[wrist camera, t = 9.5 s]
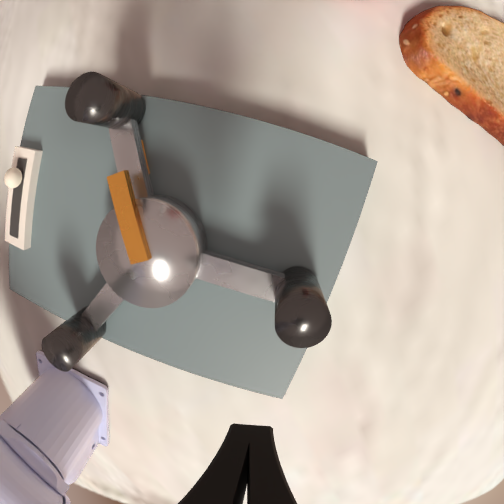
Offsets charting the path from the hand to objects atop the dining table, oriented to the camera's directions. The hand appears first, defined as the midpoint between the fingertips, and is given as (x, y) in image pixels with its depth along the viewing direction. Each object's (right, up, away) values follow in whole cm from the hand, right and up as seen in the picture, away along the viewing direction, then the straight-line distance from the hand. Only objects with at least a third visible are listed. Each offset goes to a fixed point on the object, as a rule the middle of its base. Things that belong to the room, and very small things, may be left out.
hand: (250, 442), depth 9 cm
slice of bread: (+20, +18, +5) cm, 28 cm away
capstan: (-6, +9, +7) cm, 13 cm away
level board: (-6, +8, +9) cm, 14 cm away
